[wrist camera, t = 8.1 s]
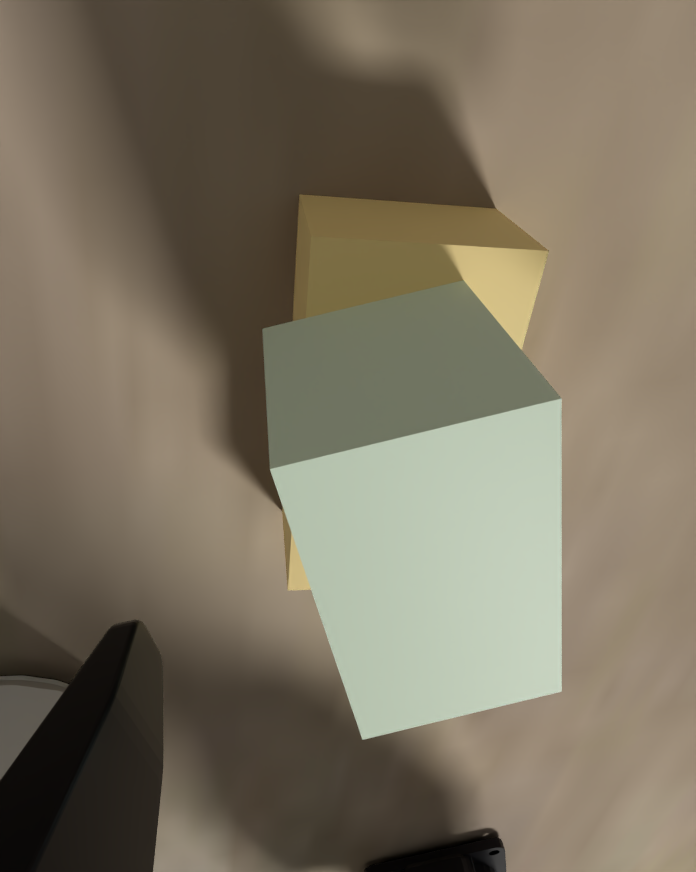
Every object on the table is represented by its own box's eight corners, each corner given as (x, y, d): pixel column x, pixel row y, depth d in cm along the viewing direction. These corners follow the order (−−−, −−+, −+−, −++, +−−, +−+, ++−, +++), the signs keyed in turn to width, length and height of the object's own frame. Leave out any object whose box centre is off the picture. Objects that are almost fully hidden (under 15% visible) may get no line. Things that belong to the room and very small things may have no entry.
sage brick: (487, 532, 14) (561, 691, 11) (335, 569, 14) (362, 739, 11) (463, 280, 11) (561, 398, 7) (262, 328, 11) (270, 468, 7)
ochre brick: (426, 503, 17) (456, 584, 15) (281, 504, 17) (288, 590, 14) (492, 205, 13) (548, 251, 11) (298, 191, 12) (311, 236, 10)
